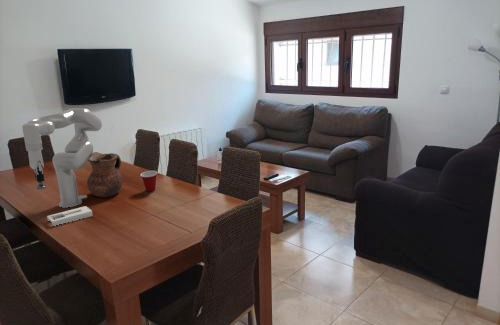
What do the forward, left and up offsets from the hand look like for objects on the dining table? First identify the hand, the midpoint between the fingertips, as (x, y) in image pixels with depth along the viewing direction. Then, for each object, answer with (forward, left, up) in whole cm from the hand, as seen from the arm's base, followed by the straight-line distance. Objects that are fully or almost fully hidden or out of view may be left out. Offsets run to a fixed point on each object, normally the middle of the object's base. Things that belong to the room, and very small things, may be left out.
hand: (40, 180), depth 197 cm
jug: (-39, -14, -21) cm, 47 cm away
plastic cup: (-62, +1, -21) cm, 66 cm away
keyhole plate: (-9, +12, -21) cm, 26 cm away
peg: (0, 0, -4) cm, 4 cm away
